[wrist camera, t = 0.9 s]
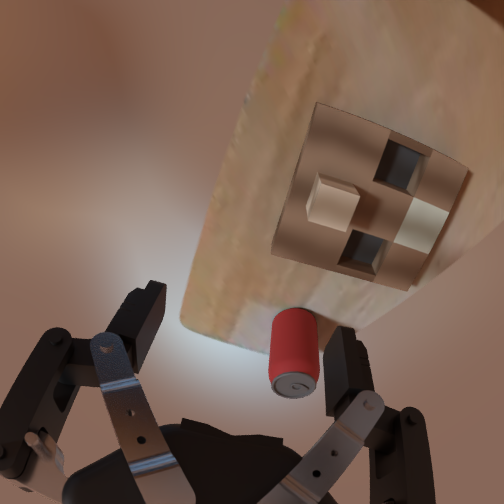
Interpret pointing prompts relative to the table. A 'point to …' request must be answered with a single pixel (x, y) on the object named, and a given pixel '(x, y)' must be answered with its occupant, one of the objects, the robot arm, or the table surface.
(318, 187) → the maple block
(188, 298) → the table surface
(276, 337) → the beer can
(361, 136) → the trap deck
